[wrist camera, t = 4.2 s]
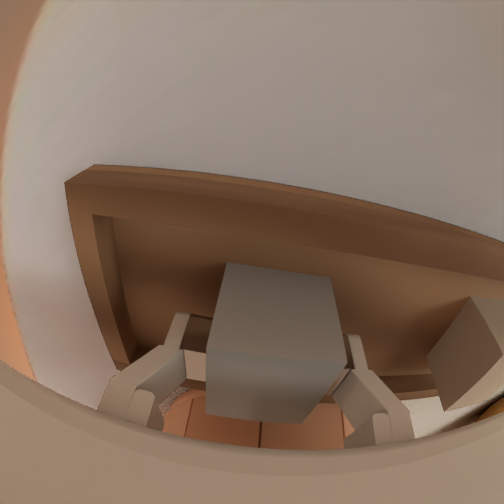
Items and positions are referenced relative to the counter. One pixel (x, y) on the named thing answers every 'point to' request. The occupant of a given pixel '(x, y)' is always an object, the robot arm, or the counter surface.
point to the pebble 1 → (272, 345)
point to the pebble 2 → (470, 354)
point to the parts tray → (272, 261)
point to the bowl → (257, 426)
